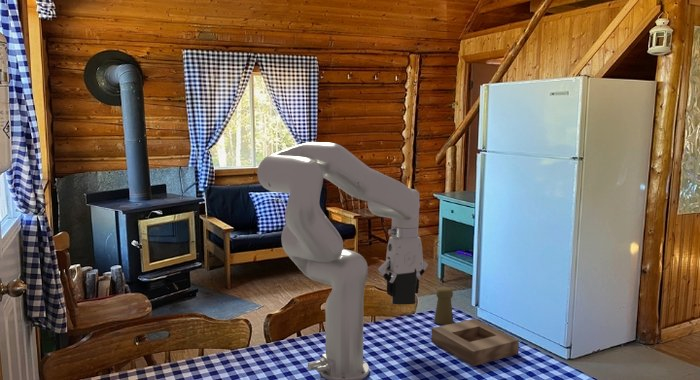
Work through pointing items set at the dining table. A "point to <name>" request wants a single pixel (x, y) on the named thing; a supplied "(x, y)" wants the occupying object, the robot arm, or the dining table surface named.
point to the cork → (444, 306)
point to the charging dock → (475, 341)
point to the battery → (405, 288)
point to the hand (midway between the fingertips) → (402, 293)
